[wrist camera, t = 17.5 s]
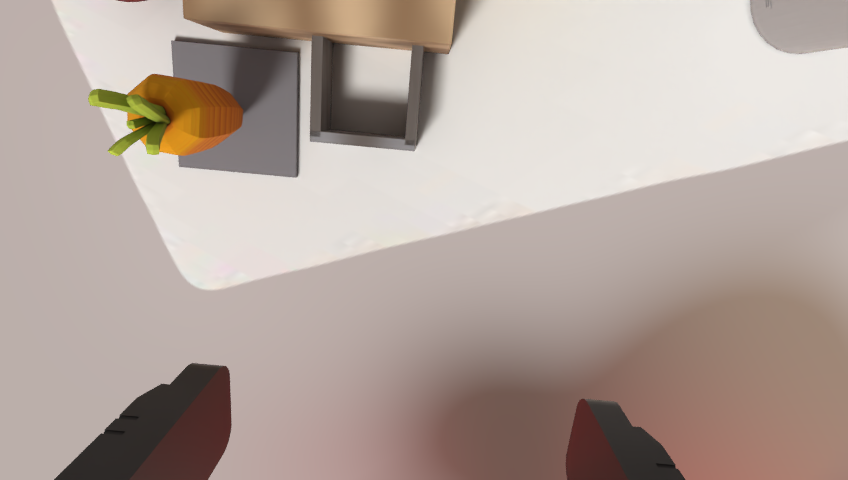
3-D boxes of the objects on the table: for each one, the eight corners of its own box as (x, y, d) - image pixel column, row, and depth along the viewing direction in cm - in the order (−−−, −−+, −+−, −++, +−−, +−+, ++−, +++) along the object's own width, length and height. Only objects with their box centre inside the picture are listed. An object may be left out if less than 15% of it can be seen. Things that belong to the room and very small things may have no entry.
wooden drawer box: (461, -76, 34) (467, -114, 28) (438, 149, 38) (440, 156, 32) (219, -100, 33) (174, -143, 28) (226, 129, 38) (189, 133, 32)
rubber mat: (298, 53, 36) (297, 52, 36) (297, 176, 39) (295, 177, 39) (174, 41, 36) (171, 40, 36) (181, 166, 39) (179, 166, 39)
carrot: (275, 136, 38) (178, 156, 23) (219, 149, 38) (90, 176, 24) (256, 75, 36) (141, 55, 22) (198, 88, 37) (48, 78, 22)
